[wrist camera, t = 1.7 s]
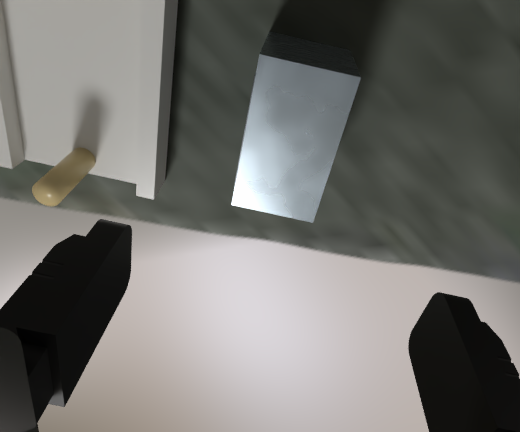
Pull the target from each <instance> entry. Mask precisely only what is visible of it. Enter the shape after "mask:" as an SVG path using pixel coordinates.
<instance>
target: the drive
mask: <svg viewBox="0 0 520 432" xmlns="http://www.w3.org/2000/svg"><path fill="white" fill-rule="evenodd" d="M360 79H361V76H360V74H359V71H358V69H357V66H356V64H355V61H354V59H353V56H352V54H351V51H350V50H347V49H343V48H339V47H334V46H330V45H326V44H321V43H317V42H313V41H308V40H304V39H300V38H295V37H291V36H287V35H282V34H278V33H274V32H269V34H268V36H267V38H266V41H265V43H264V45H263V47H262V50H261V52H260V54H259V60H258V65H257V70H256V74H255V77H254V82H253V87H252V93H251V98H250V104H249V109H248V114H247V120H246V125H245V131H244V136H243V141H242V147H241V152H240V158H239V163H238V168H237V174H236V179H235V185H234V186H235V189H234V194H233V199H232V205H234V206H239V207H243V208H248V209H253V210H257V211H262V212H266V213H271V214H275V215H280V216H285V217H289V218H294V219H298V220H303V221H307V222H312V223H313V221H314V218H315V215H316V212H317V209H318V206H319V203H320V200H321V197H322V194H323V191H324V188H325V185H326V182H327V179H328V176H329V173H330V170H331V167H332V164H333V161H334V158H335V155H336V152H337V149H338V146H339V143H340V140H341V137H342V134H343V131H344V128H345V125H346V122H347V118H348V115H349V112H350V109H351V106H352V103H353V100H354V97H355V94H356V91H357V88H358V85H359V82H360Z"/></svg>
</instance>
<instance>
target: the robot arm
mask: <svg viewBox="0 0 520 432" xmlns="http://www.w3.org/2000/svg"><path fill="white" fill-rule="evenodd" d="M131 242H132V229H131V226H130V225H126V224H121V223H117V222H112V221H107V220H103V219H100V220H99V221H97V223H96V224H95V225H94V226H93V228H92V229H91V230H90V232H89V233H88V234H87V236H86V237H85V236H80V235H76V234H74V235H72V236H70V237H69V238H67V239H65V240H63V241H61V242H60V243H58V244H56V245H55V246H54V247H53V248H52V249H51V251H50V252H49V253H48V254H47V255H46V256H45V258H44V259H43V261H42V263H39V265H38V266H37V267H36V268H35V269H34V271H33V272H32V275H29V276H28V278H27V279H26V280H25V281H24V283H22V285H21V286H20V287H19V288H18V289H17V290H16V292H15V293H14V294H13V295H12V296H11V297H10V299H9V300H8V301H7V302H6V303H5V304H4V306H3V307H2V308H1V309H0V432H39V430H38V425H37V423H38V421H39V419H40V417H41V415H42V414H43V412H44V410H45V409H46V407H47V405H48V404H52V405H58V406H62V407H65V405H66V403H67V401H68V399H69V398H70V396H71V394H72V392H73V390H74V388H75V386H76V384H77V382H78V381H79V379H80V377H81V375H82V373H83V371H84V369H85V367H86V365H87V364H88V362H89V359H90V358H91V356H92V354H93V352H94V350H95V348H96V346H97V345H98V343H99V341H100V339H101V337H102V335H103V333H104V331H105V329H106V328H107V325H108V323H109V322H110V320H111V318H112V316H113V314H114V312H115V311H116V308H117V307H118V305H119V303H120V301H121V299H122V297H123V295H124V293H125V291H126V289H127V286H128V282H129V279H130V273H131V245H132V243H131ZM409 355H410V359H411V363H412V366H413V371H414V375H415V379H416V383H417V386H418V390H419V394H420V398H421V402H422V406H423V409H424V413H425V417H426V421H427V425H428V429H429V432H520V379H519V373H518V372H517V370H516V368H515V366H514V364H513V363H511V358H510V356H509V354H508V352H507V350H506V348H505V346H504V344H503V342H502V340H501V339H500V338H499V337H498V336H497V335H496V333H495V332H494V331H493V330H492V329H491V328H490V327H489V326H488V325H487V324H486V323H485V322H481V321H480V319H479V317H478V315H477V312H476V310H475V308H474V306H473V304H472V303H471V301H470V300H469V299H467V298H463V297H458V296H453V295H449V294H444V293H436V294H434V295H433V296H432V298H431V300H430V301H429V303H428V305H427V307H426V308H425V310H424V311H423V313H422V315H421V316H420V318H419V320H418V321H417V323H416V325H415V326H414V328H413V330H412V332H411V334H410V338H409Z"/></svg>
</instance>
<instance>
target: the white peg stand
mask: <svg viewBox="0 0 520 432" xmlns="http://www.w3.org/2000/svg"><path fill="white" fill-rule="evenodd" d="M177 9H178V0H0V166H2V167H6V168H11V169H13V168H14V167H16V166H17V165H18V164H19V163H21V162H22V161H23V160H30V161H34V162H39V163H43V164H48V165H52V166H55V167H54V168H52V169H51V170H50V171H49V172H48V173H47V174H46V175H44V176H43V177H42V178H41V179H40V180H39V181H38V182H36V183H35V184H34V185H33V188H32V192H33V195H34V197H35V198H36V199H37V200H38V201H39V202H40V203H42V204H44V205H46V206H56V205H58V204H59V203H60V202H61V201H62V200H63V199H64V198H65V196H66V195H67V194H68V193H69V192H70V191H71V190H72V189H73V188H74V187H75V186H76V185H77V184H78V183H79V182H80V181H81V180H82V179H83V178H84V177H85V176H86V175H87V174H88V173H89V174H94V175H98V176H103V177H108V178H112V179H117V180H121V181H126V182H131V183H135V184H137V188H136V196H140V197H145V198H149V199H154V198H155V197H156V195H157V193H158V192H159V190H160V188H161V187H162V185H163V183H164V182H165V175H166V161H167V147H168V134H169V120H170V106H171V92H172V78H173V65H174V51H175V37H176V23H177Z"/></svg>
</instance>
